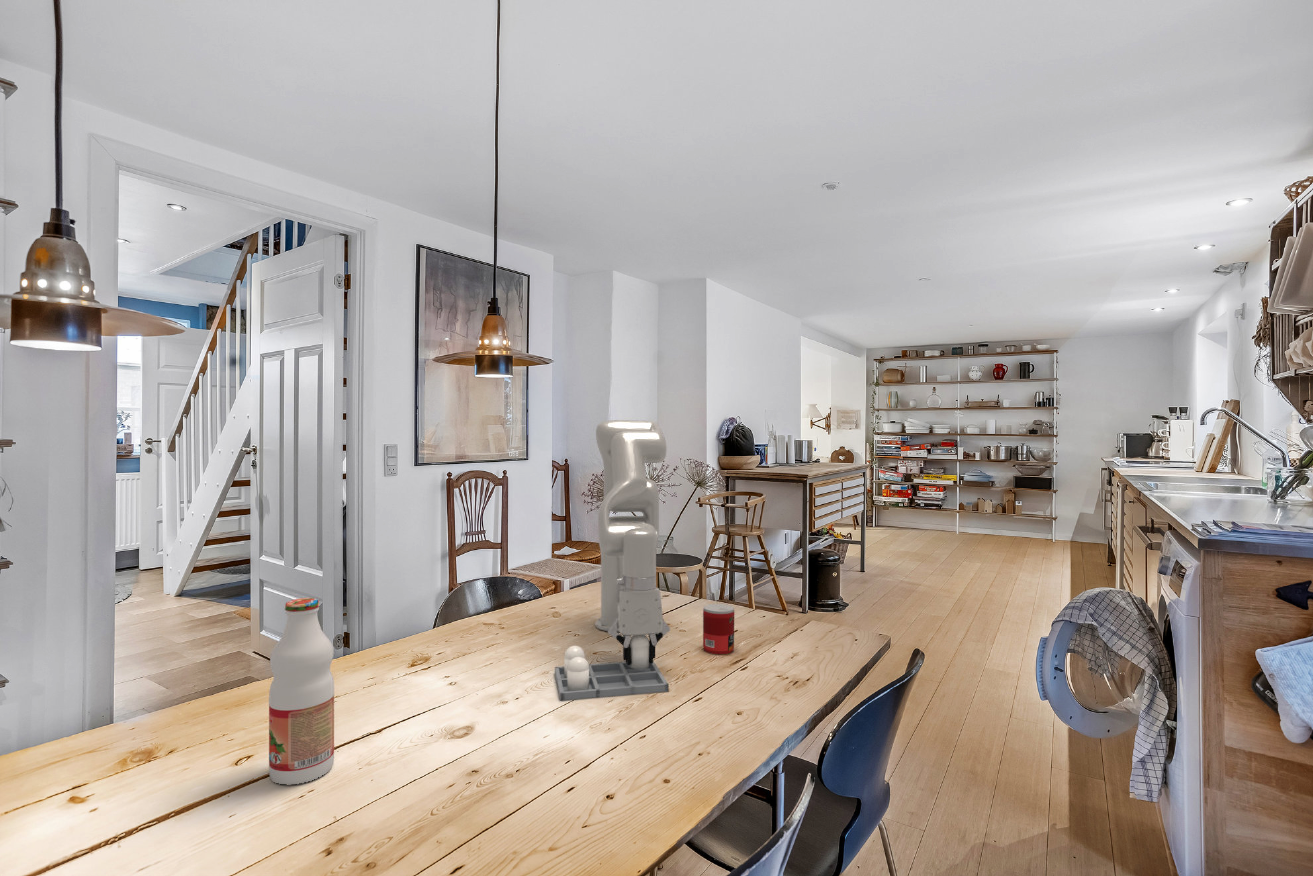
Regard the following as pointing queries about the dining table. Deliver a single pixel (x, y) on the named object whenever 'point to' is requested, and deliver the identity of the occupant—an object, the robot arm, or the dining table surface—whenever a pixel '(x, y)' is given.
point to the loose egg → (639, 652)
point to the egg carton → (614, 681)
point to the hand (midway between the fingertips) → (639, 661)
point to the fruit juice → (301, 698)
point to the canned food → (718, 628)
